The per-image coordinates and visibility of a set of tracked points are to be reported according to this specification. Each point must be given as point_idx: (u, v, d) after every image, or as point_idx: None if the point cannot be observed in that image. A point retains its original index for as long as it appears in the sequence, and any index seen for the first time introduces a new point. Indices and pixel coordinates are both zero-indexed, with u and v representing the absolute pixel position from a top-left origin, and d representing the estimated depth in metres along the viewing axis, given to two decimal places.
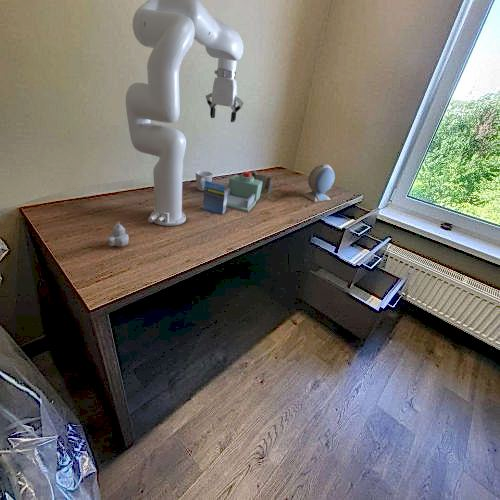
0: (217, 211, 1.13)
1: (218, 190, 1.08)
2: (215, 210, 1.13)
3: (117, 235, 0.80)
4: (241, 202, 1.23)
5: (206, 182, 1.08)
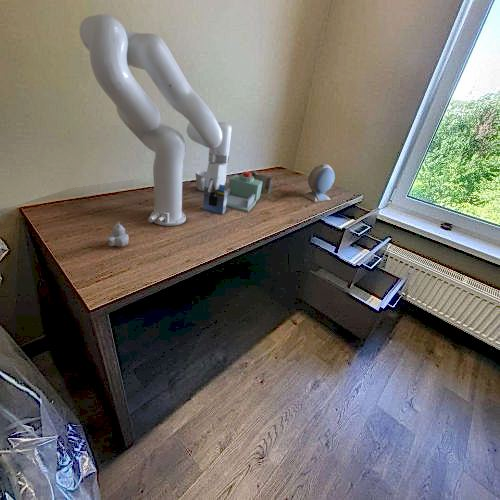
0: (217, 211, 1.13)
1: (218, 190, 1.08)
2: (215, 210, 1.13)
3: (117, 235, 0.80)
4: (241, 202, 1.23)
5: None
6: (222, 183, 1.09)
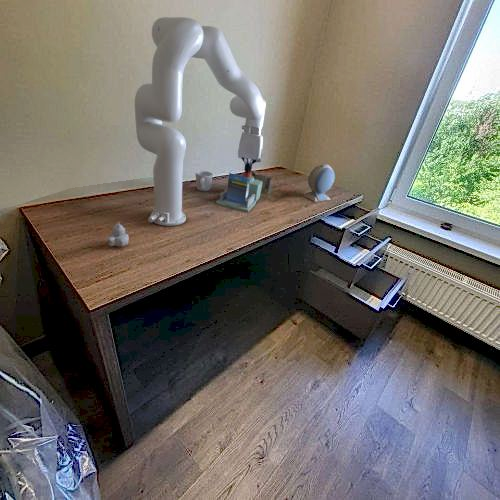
0: (239, 201, 1.22)
1: (241, 182, 1.17)
2: (238, 200, 1.22)
3: (117, 235, 0.80)
4: None
5: (230, 174, 1.17)
6: None
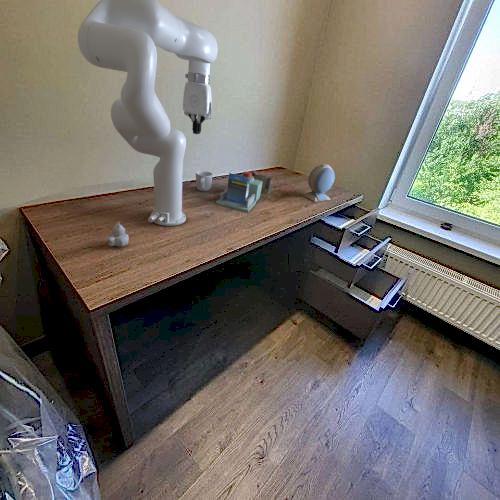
0: (239, 201, 1.22)
1: (241, 182, 1.17)
2: (238, 200, 1.22)
3: (117, 235, 0.80)
4: None
5: (230, 174, 1.17)
6: None
